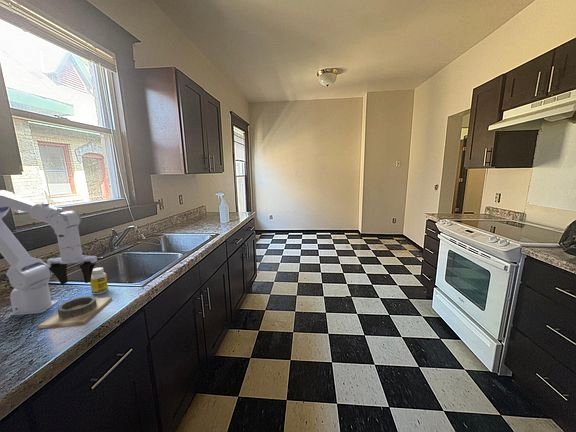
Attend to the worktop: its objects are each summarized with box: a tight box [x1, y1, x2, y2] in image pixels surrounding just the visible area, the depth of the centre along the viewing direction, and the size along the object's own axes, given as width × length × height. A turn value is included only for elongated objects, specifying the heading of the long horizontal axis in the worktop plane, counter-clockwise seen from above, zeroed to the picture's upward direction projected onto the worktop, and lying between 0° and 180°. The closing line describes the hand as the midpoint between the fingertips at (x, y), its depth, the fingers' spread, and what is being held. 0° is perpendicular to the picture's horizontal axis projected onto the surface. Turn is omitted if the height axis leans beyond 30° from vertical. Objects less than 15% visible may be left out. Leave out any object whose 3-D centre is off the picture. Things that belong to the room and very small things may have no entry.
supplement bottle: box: [89, 267, 109, 295], centre depth 100 cm, size 5×5×10 cm
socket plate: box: [37, 295, 113, 329], centre depth 85 cm, size 13×16×4 cm
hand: (76, 282), depth 88 cm, fingers open, 7 cm apart
